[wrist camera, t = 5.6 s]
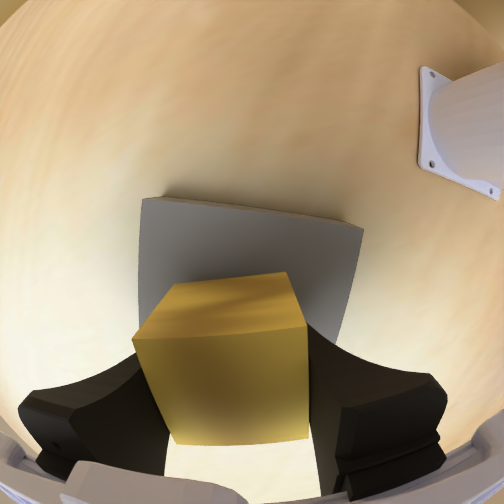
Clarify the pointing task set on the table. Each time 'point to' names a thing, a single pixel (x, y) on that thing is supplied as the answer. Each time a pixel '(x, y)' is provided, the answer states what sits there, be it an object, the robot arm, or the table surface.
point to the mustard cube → (228, 361)
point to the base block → (247, 253)
